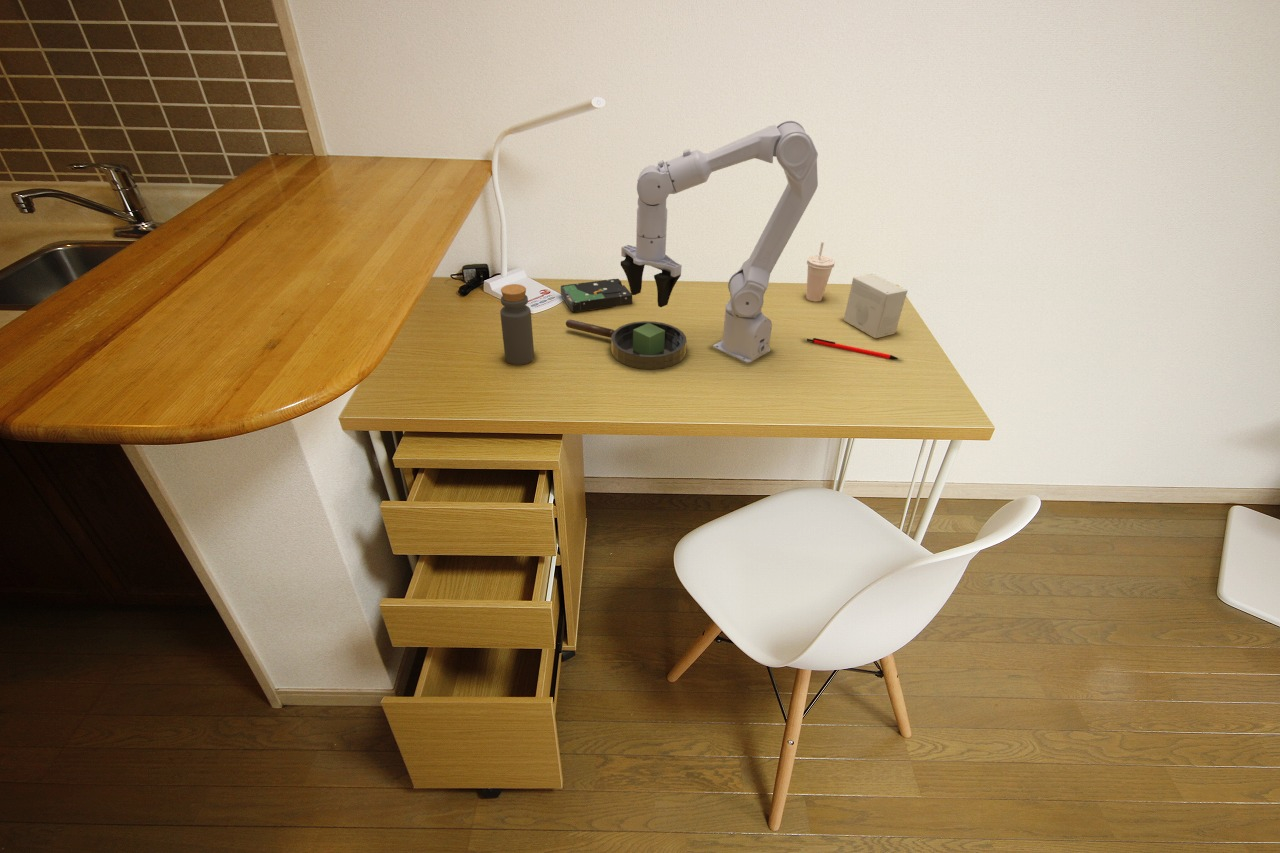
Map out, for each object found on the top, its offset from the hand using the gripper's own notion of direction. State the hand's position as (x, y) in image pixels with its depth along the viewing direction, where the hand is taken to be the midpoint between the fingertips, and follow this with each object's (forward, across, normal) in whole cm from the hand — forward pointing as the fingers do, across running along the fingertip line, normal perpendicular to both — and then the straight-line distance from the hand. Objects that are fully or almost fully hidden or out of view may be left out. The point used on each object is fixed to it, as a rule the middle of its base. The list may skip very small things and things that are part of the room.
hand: (649, 299), depth 133 cm
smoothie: (+10, +11, +47) cm, 49 cm away
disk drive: (+10, -24, +7) cm, 27 cm away
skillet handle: (+9, -10, -7) cm, 15 cm away
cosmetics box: (+10, +28, +43) cm, 52 cm away
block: (+10, +2, -2) cm, 10 cm away
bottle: (+10, -14, -23) cm, 29 cm away
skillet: (+10, +2, -2) cm, 11 cm away
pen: (+11, +31, +30) cm, 44 cm away
